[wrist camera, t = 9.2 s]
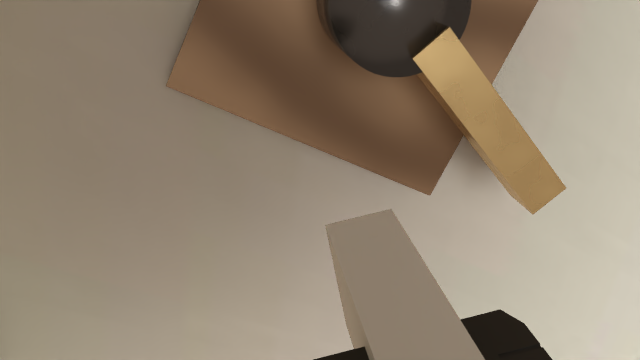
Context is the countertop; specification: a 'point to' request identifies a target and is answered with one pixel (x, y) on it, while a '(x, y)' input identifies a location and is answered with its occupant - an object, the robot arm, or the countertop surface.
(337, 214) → the countertop surface
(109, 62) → the countertop surface
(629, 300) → the countertop surface
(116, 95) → the countertop surface
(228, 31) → the base
